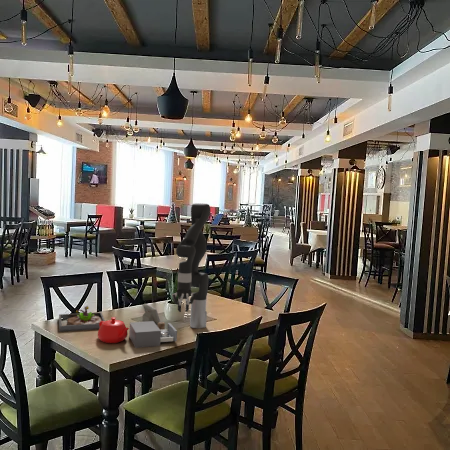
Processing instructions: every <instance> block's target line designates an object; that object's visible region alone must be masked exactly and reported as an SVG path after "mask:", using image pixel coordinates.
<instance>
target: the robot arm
mask: <svg viewBox="0 0 450 450" xmlns="http://www.w3.org/2000/svg"><path fill="white" fill-rule="evenodd" d="M210 215H211V207H210V204H208V203H197V202H194V203H192V204H191V208H190V220H191V221H190V222H191V226H190V227H188V229H187V231H186V233H185V236H184V238H183V239H181V241H180V243H179V244H178V245H177V247H176V249H175V253H176V256H177V257H179V258H187V259H186V260H185V261H180V262H179V263H178V276H177V290H176V292H175V293H172V294H171V296H172V299H173V302H174V304H176V305H177V312H179V313H181V312H182V302H183V300H185V309H184V310H185V312H188V311H189V310H190V316H189V317H190V318H189V327H190V328H193V329H204V328H207V316H208V311H207V297H208V290H209V282H210V281H209V280H210V279H209V274H208V273H206V272H199V266H200V263H201V262H202V259H203V258H204V256H205V255H206V253H207V238H206V236H205V234H204V233H203V231H202V229H203V228H204V226H205V225H206V224H207V221H208V220H209V218H210ZM193 287H194V288H197V289H198V288H199V289H198V291H195V292H192V288H193ZM177 297H178V298H177ZM177 299H178V300H177ZM189 308H190V309H189Z"/></svg>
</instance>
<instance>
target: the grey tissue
mask: <svg viewBox="0 0 450 450" xmlns="http://www.w3.org/2000/svg"><path fill="white" fill-rule="evenodd" d="M143 310H144V313H143V314H142V321H141V322H146V321H154V323H155V324H156V325H157V326H158V323H159V322H161V319H160V316H159V313H158V310H157V308H155V307H153V306H152V305H149V304H148V303H144V304H143Z"/></svg>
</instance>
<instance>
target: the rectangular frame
mask: <svg viewBox="0 0 450 450" xmlns="http://www.w3.org/2000/svg"><path fill="white" fill-rule="evenodd" d="M93 314H94V316H99V317H100V318H101V319H102V321H106V320H105V317H104V315H103V313H102V311H101V312H92V314H91V315H93ZM77 315H80V312H77V313H66V314H65V313H63V314H62V313H61V314H58V326H59V332H74V331H75V332H76V331H88V330H89V331H90V330H91V331H92V330H99V328H100V326H99V324H82V325H67V324H66V325H62V320H67V319H69V318H72V317H76V316H77ZM61 318H63V319H61Z"/></svg>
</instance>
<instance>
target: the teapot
mask: <svg viewBox="0 0 450 450" xmlns="http://www.w3.org/2000/svg"><path fill="white" fill-rule="evenodd" d="M99 326H100V328H99V329H98V330H97V337H98V339H99V340H100V341H101V342H103V343H106V344H116V343H117V344H119V343H121V342H122V341H123V342H124V340H126V339H127V337H128V335H129V333H128V330H130V327H127V326H126V324H125V322H124V321H122V320H119V319H117V317H115V316H111V317H110V319H108V320H105V321H100V322H99Z"/></svg>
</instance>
